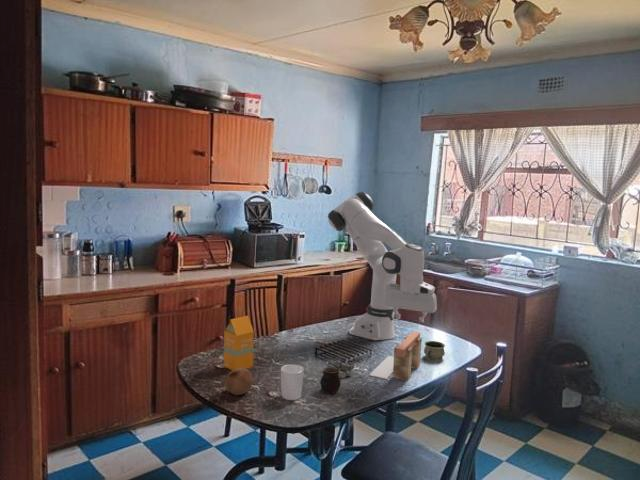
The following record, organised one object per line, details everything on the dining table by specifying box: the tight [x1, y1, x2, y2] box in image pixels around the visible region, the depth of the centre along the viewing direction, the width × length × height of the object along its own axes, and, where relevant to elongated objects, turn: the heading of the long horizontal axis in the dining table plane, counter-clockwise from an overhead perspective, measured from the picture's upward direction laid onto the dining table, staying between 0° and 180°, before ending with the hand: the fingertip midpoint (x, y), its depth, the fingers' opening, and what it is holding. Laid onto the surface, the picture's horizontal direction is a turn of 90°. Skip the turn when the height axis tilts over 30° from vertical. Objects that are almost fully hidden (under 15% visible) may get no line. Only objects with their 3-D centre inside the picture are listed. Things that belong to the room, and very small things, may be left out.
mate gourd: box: [319, 364, 342, 394], centre depth 183 cm, size 7×8×10 cm
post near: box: [392, 344, 413, 382], centre depth 197 cm, size 6×4×12 cm, turn 64°
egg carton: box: [325, 360, 355, 379], centre depth 200 cm, size 11×8×4 cm
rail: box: [396, 331, 421, 357], centre depth 203 cm, size 3×24×3 cm, turn 155°
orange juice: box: [223, 315, 255, 371], centre depth 202 cm, size 8×9×20 cm
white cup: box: [280, 364, 304, 401], centre depth 177 cm, size 8×8×10 cm
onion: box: [225, 368, 254, 396], centre depth 178 cm, size 10×9×10 cm
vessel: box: [423, 340, 446, 362], centre depth 220 cm, size 12×9×6 cm
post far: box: [404, 334, 423, 370], centre depth 210 cm, size 6×4×12 cm, turn 65°
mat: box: [369, 355, 394, 381], centre depth 208 cm, size 7×24×1 cm, turn 154°
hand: (409, 320), depth 201 cm, fingers open, 8 cm apart
